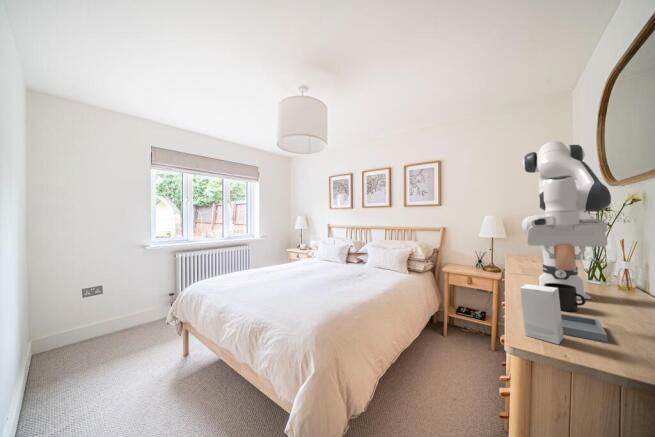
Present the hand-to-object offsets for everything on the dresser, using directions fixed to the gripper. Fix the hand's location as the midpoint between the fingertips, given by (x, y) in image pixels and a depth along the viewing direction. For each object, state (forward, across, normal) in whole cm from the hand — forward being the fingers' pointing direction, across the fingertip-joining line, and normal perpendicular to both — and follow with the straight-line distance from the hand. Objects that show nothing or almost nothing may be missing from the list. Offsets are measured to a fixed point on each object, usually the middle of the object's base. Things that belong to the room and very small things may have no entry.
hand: (564, 259), depth 83 cm
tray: (+23, 0, +5) cm, 23 cm away
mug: (+22, 0, -18) cm, 29 cm away
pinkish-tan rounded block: (+4, 0, 0) cm, 4 cm away
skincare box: (+23, +7, +18) cm, 30 cm away
